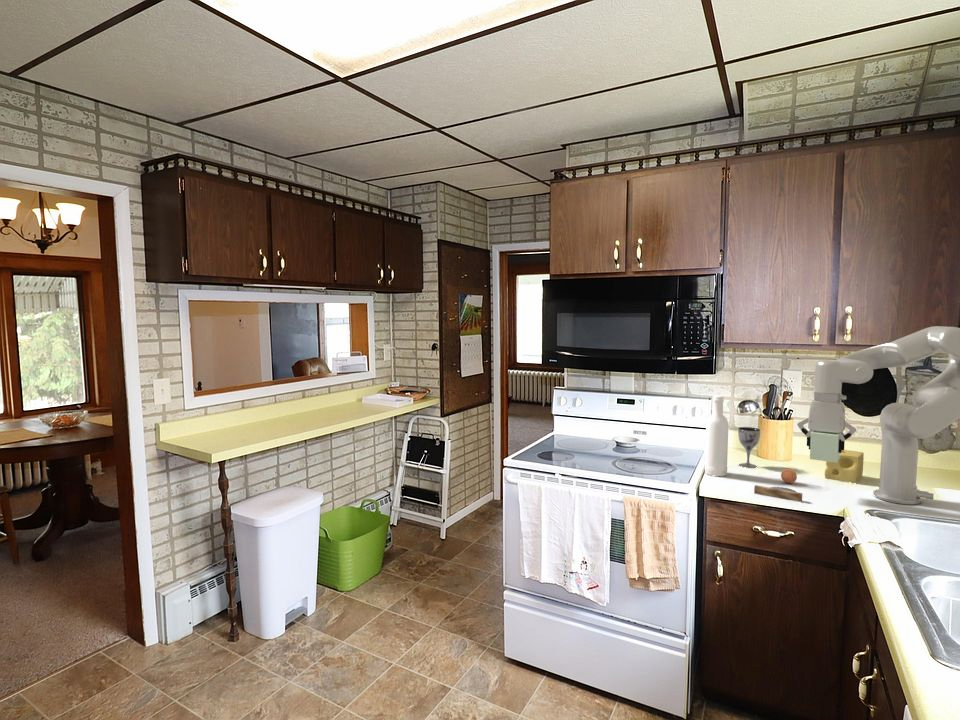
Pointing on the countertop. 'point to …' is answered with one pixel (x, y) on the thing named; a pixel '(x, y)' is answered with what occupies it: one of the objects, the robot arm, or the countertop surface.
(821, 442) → the pale green cube
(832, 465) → the cheese
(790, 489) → the spot
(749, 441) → the wine glass
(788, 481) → the ball
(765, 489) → the brown wooden bar
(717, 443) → the bottle
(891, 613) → the countertop surface
